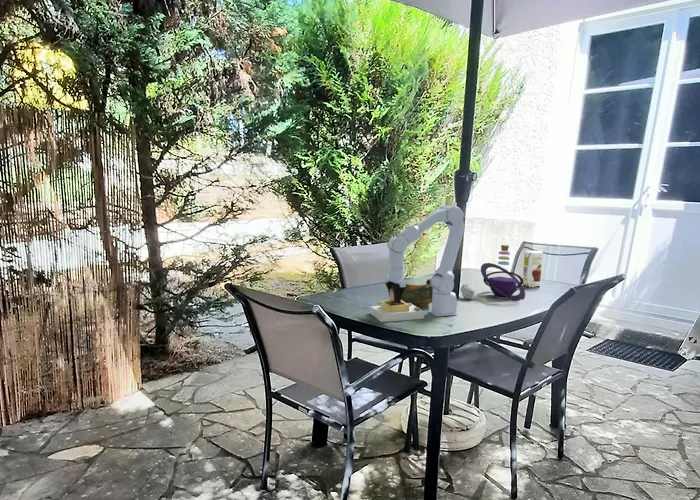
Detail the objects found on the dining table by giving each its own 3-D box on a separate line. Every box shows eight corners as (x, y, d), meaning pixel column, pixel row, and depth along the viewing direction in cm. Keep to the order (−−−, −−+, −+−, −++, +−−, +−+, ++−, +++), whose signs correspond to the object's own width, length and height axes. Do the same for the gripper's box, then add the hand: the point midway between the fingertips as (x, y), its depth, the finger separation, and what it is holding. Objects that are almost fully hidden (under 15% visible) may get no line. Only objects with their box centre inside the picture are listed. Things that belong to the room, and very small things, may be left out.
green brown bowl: (416, 311, 187) (417, 287, 186) (389, 301, 204) (390, 279, 203) (440, 308, 193) (441, 285, 192) (413, 298, 211) (413, 277, 209)
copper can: (398, 304, 182) (398, 287, 181) (402, 307, 178) (402, 289, 177) (387, 305, 181) (388, 287, 180) (391, 307, 177) (392, 290, 176)
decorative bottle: (508, 304, 202) (512, 249, 199) (469, 295, 218) (472, 244, 215) (534, 297, 216) (538, 246, 213) (495, 289, 232) (498, 241, 229)
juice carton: (519, 285, 245) (522, 250, 242) (533, 284, 247) (535, 250, 245) (529, 288, 238) (531, 252, 235) (542, 287, 240) (545, 252, 238)
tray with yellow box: (410, 310, 189) (411, 297, 188) (424, 318, 177) (424, 305, 176) (370, 313, 183) (370, 300, 182) (381, 321, 172) (381, 307, 171)
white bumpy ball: (466, 296, 216) (467, 282, 215) (477, 299, 210) (478, 285, 209) (457, 297, 213) (457, 283, 212) (467, 301, 207) (468, 286, 206)
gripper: (379, 264, 183) (378, 297, 185) (393, 271, 169) (392, 306, 171) (395, 264, 185) (394, 296, 187) (411, 270, 171) (409, 305, 173)
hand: (394, 301), depth 179 cm, fingers closed on copper can, 4 cm apart
